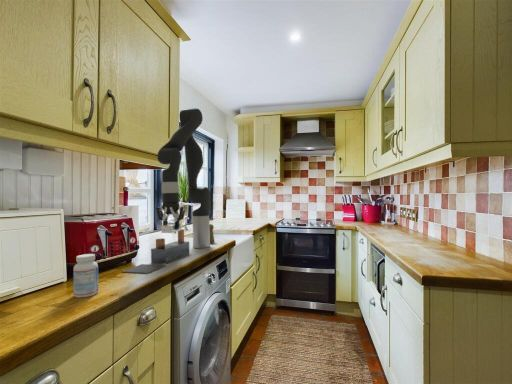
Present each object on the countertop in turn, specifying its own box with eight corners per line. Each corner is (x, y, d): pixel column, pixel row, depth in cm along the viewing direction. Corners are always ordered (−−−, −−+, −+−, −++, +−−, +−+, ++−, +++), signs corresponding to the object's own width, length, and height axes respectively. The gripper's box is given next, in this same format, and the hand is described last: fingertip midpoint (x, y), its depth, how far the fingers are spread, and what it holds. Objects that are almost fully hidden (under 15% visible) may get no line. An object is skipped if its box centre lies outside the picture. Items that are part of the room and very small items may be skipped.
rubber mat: (141, 265, 111) (141, 264, 111) (165, 266, 109) (165, 265, 109) (122, 272, 101) (122, 271, 101) (147, 273, 98) (147, 272, 98)
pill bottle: (84, 290, 81) (83, 253, 82) (103, 291, 81) (102, 253, 81) (68, 298, 75) (67, 257, 75) (88, 298, 75) (88, 257, 75)
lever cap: (171, 230, 128) (171, 221, 128) (180, 230, 127) (180, 221, 127) (161, 232, 120) (161, 223, 120) (171, 232, 119) (171, 223, 119)
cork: (212, 243, 161) (212, 224, 161) (202, 243, 162) (202, 224, 162) (216, 241, 167) (215, 223, 167) (206, 241, 168) (206, 223, 168)
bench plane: (176, 253, 134) (176, 229, 134) (189, 253, 132) (188, 229, 132) (150, 263, 114) (150, 234, 114) (165, 264, 112) (165, 235, 112)
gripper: (188, 191, 125) (189, 228, 125) (161, 192, 129) (162, 228, 129) (180, 191, 118) (181, 230, 118) (151, 192, 122) (152, 230, 122)
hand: (171, 229), depth 123 cm, fingers closed on lever cap, 5 cm apart
